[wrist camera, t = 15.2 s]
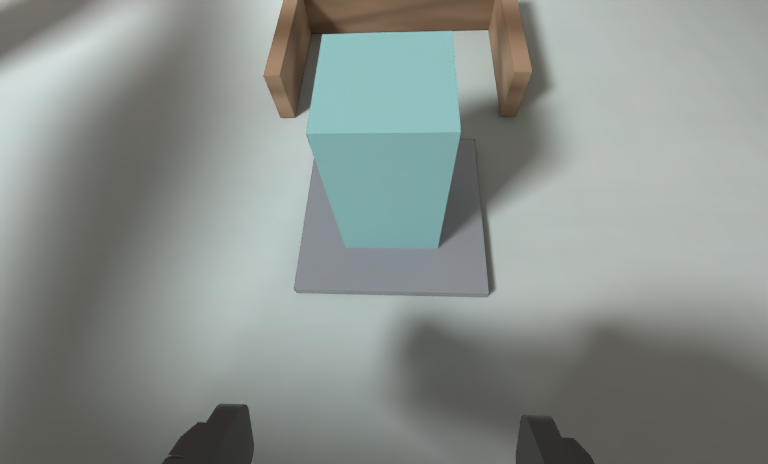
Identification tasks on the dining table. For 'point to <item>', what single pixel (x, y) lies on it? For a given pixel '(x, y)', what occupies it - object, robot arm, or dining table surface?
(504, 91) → the walnut cubby
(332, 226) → the slate mat
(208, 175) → the dining table surface
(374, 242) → the teal block
